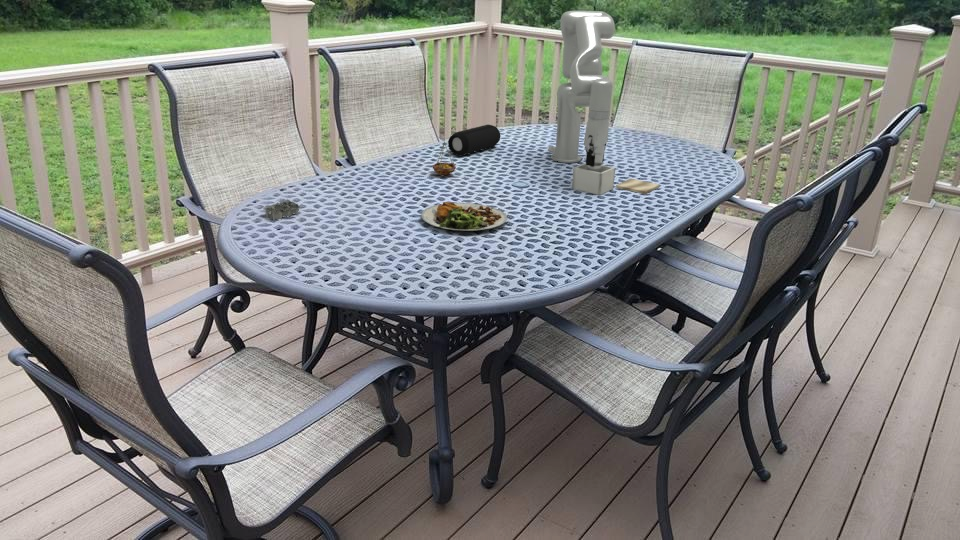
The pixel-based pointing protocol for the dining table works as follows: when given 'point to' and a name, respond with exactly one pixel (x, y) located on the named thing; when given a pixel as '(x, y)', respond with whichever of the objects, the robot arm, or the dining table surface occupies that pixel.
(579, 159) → the robot arm
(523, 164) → the dining table surface
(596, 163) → the plastic bottle
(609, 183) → the bin
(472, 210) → the plate of food
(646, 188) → the pad
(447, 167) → the bird feeder
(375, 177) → the dining table surface
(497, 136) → the portable speaker
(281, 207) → the dark grey rough lump
